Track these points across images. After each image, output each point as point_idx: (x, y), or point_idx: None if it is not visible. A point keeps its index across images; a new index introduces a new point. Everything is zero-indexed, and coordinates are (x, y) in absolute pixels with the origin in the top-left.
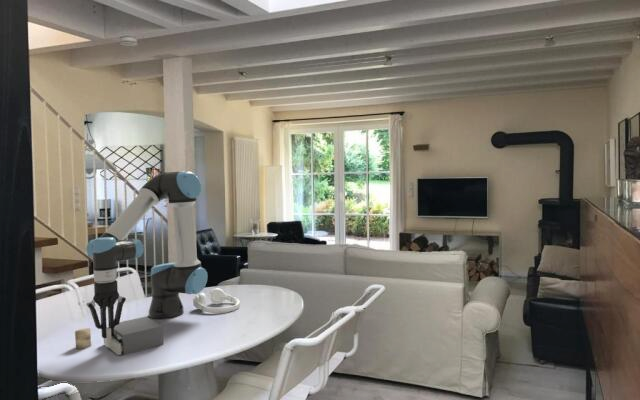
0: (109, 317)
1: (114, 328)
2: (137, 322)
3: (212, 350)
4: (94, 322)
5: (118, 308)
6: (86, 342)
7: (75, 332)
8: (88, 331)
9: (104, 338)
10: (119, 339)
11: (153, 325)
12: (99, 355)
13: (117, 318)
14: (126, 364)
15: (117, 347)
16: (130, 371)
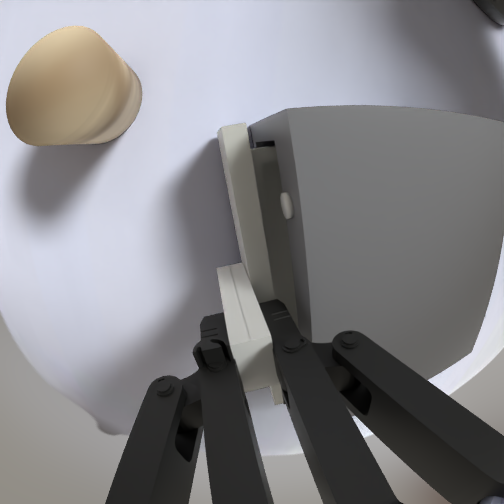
0: (305, 450)
1: (315, 293)
2: (464, 228)
3: (444, 388)
4: (137, 430)
5: (430, 478)
6: (103, 137)
7: (7, 116)
8: (91, 117)
9: (223, 152)
10: None
11: (465, 335)
12: (184, 316)
13: (367, 418)
14: (272, 424)
15: (270, 389)
16: (270, 452)
